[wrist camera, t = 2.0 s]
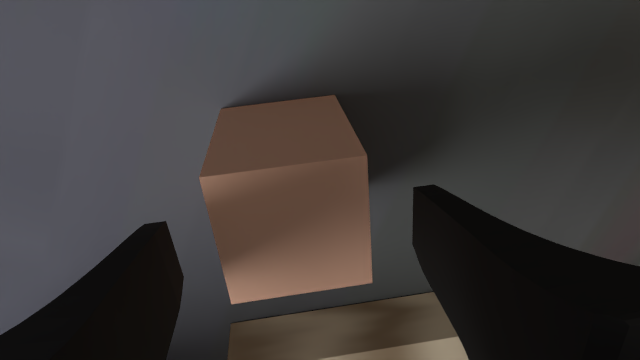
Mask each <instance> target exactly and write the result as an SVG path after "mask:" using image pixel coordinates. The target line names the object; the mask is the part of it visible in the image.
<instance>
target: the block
mask: <svg viewBox="0 0 640 360" xmlns="http://www.w3.org/2000/svg"><path fill="white" fill-rule="evenodd" d="M199 179H200V183H201V187H202V191H203V195H204V199H205V202H206V206H207V210H208V214H209V218H210V222H211V226H212V230H213V234H214V238H215V241H216V245H217V249H218V253H219V257H220V261H221V265H222V269H223V273H224V277H225V280H226V284H227V288H228V292H229V296H230V300H231V304H237V303H244V302H250V301H257V300H263V299H270V298H277V297H283V296H290V295H296V294H303V293H309V292H316V291H323V290H329V289H336V288H342V287H349V286H356V285H362V284H369V283H372V259H371V235H370V210H369V185H368V160H367V154H366V152H365V150H364V148H363V146H362V145H361V143H360V141H359V139H358V137H357V135H356V133H355V132H354V130H353V128H352V126H351V124H350V122H349V121H348V119H347V117H346V115H345V113H344V111H343V109H342V108H341V106H340V104H339V102H338V100H337V98H336V96H335V95H329V96H321V97H313V98H304V99H296V100H288V101H280V102H272V103H264V104H256V105H247V106H239V107H231V108H223V109H221V110H220V113H219V116H218V119H217V122H216V126H215V129H214V132H213V135H212V138H211V142H210V145H209V148H208V151H207V154H206V157H205V161H204V164H203V167H202V170H201V173H200V176H199Z"/></svg>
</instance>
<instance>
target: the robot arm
mask: <svg viewBox="0 0 640 360" xmlns="http://www.w3.org/2000/svg"><path fill="white" fill-rule="evenodd" d="M412 244H413V247H414V249H415V252H416V255H417V258H418V260H419V263H420V265H421V268H422V270H423V273H424V275H425V276H426V278H427V280H428V282H429V284H430V286H431V288H432V289H433V291H434V293H435V295H436V297H437V299H438V300H439V302H440V304H441V306H442V308H443V309H444V311H445V313H446V315H447V317H448V319H449V320H450V322H451V324H452V326H453V328H454V329H455V331H456V333H457V335H458V337H459V339H460V341H461V343H462V345H463V347H464V349H465V352H466V354H467V356H468V359H469V360H640V267H639V266H635V265H630V264H626V263H621V262H617V261H614V260H610V259H606V258H602V257H598V256H595V255H592V254H588V253H585V252H582V251H578V250H575V249H572V248H569V247H566V246H563V245H560V244H557V243H554V242H552V241H549V240H546V239H544V238H541V237H538V236H536V235H533V234H531V233H528V232H526V231H524V230H521V229H519V228H517V227H515V226H513V225H510V224H508V223H506V222H504V221H502V220H500V219H498V218H496V217H494V216H492V215H490V214H488V213H486V212H484V211H482V210H480V209H478V208H477V207H475V206H473V205H471V204H469V203H467V202H466V201H464V200H462V199H460V198H458V197H457V196H455V195H453V194H451V193H449V192H448V191H446V190H444V189H442V188H440V187H438V186H436V185H427V186H420V187H413V240H412ZM183 279H184V276H183V273H182V270H181V267H180V264H179V261H178V257H177V254H176V251H175V248H174V245H173V242H172V239H171V235H170V232H169V229H168V226H167V223H166V221H164V222H157V223H150V224H144V225H143V226H141V227H140V228H139V229H137V230H136V231H135V232H134V233H133V234H132V235H130V236H129V237H128V238H127V239H126V240H125V241H124V242H122V243H121V244H120V245H119V246H118V247H117V248H116V249H115V250H114V251H112V252H111V253H110V254H109V255H108V256H107V257H106V258H104V259H103V260H102V261H101V262H100V263H99V264H98V265H97V266H95V267H94V268H93V269H92V270H91V271H89V272H88V273H87V274H86V275H84V276H83V277H82V278H81V279H80V280H78V281H77V282H76V283H75V284H73V285H72V286H71V287H70V288H69V289H67V290H66V291H65V292H64V293H62V294H61V295H60V296H58V297H57V298H56V299H54V300H53V301H52V302H50V303H49V304H47V305H46V306H45V307H43V308H42V309H40V310H39V311H37V312H36V313H35V314H33V315H32V316H30V317H29V318H27V319H26V320H24V321H23V322H21V323H20V324H18V325H17V326H15V327H13V328H12V329H10V330H8V331H7V332H5V333H3V334H2V335H0V360H166V357H167V353H168V350H169V346H170V342H171V339H172V335H173V332H174V328H175V324H176V321H177V317H178V313H179V309H180V303H181V296H182V288H183Z"/></svg>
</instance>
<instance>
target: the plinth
mask: <svg viewBox="0 0 640 360" xmlns="http://www.w3.org/2000/svg"><path fill="white" fill-rule="evenodd" d="M227 360H469V359H468V356H467V354H466V352H465V349H464V347H463V345H462V343H461V341H460V339H459V337H458V335H457V333H456V331H455V329H454V328H453V326H452V324H451V322H450V320H449V319H448V317H447V315H446V313H445V311H444V309H443V308H442V306H441V304H440V302H439V300H438V299H437V297H436V295H435V293H434V292H430V293H424V294H418V295H411V296H405V297H398V298H392V299H386V300H379V301H373V302H366V303H360V304H353V305H347V306H341V307H334V308H328V309H321V310H315V311H308V312H302V313H296V314H289V315H283V316H276V317H270V318H263V319H257V320H251V321H244V322H238V323H231V327H230V337H229V348H228V358H227Z"/></svg>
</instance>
